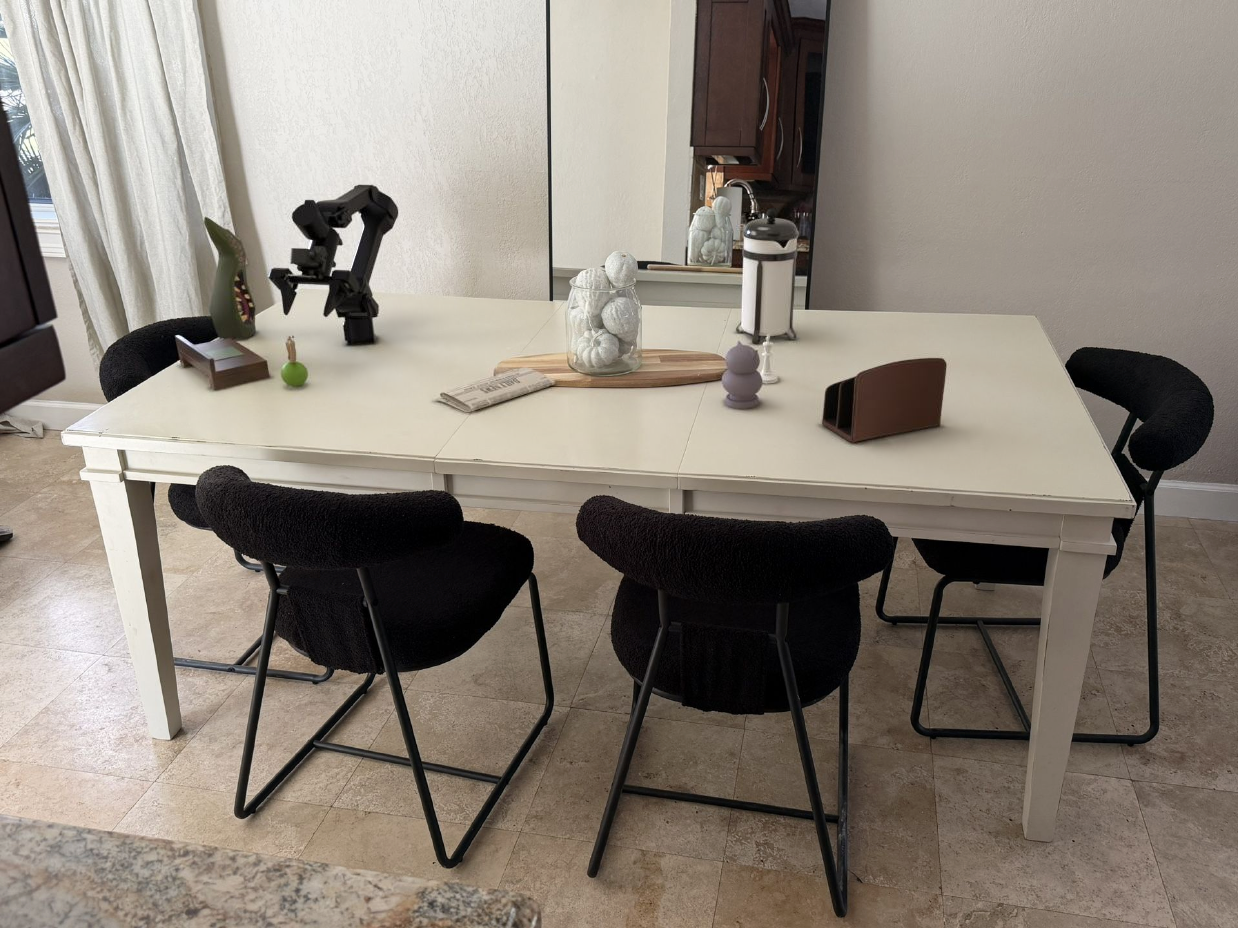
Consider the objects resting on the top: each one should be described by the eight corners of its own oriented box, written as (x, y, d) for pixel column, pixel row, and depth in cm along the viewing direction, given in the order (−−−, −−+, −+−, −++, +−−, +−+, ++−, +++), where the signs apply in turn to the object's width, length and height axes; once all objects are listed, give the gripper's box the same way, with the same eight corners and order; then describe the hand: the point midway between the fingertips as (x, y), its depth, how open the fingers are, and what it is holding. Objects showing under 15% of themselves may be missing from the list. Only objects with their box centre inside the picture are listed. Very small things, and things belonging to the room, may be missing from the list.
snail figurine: (286, 393, 211) (277, 338, 206) (280, 384, 216) (271, 330, 211) (313, 389, 213) (304, 334, 208) (306, 380, 219) (298, 326, 214)
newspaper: (517, 372, 221) (517, 361, 220) (554, 391, 213) (555, 380, 212) (431, 398, 206) (431, 387, 205) (467, 419, 199) (467, 408, 198)
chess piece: (780, 377, 215) (783, 332, 211) (773, 385, 211) (776, 339, 207) (758, 374, 217) (760, 329, 213) (751, 381, 213) (753, 336, 209)
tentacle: (210, 342, 245) (186, 217, 232) (233, 327, 256) (212, 207, 243) (246, 343, 244) (224, 217, 231) (267, 328, 255) (248, 207, 242)
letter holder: (940, 426, 189) (949, 354, 183) (851, 444, 182) (858, 370, 176) (907, 408, 198) (914, 339, 192) (820, 425, 191) (826, 353, 185)
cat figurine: (713, 399, 204) (715, 342, 199) (747, 393, 207) (749, 336, 202) (734, 413, 197) (736, 354, 192) (769, 406, 200) (772, 348, 195)
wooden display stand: (233, 354, 236) (228, 325, 233) (269, 377, 220) (264, 347, 217) (180, 365, 229) (174, 335, 226) (214, 390, 214) (208, 359, 211)
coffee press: (808, 331, 245) (817, 205, 233) (781, 348, 233) (788, 217, 220) (744, 320, 254) (748, 199, 241) (714, 337, 241) (717, 210, 229)
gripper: (265, 230, 216) (246, 294, 211) (346, 232, 212) (329, 298, 207) (289, 258, 226) (271, 320, 221) (366, 261, 223) (351, 324, 217)
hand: (305, 315), depth 216 cm, fingers open, 9 cm apart
